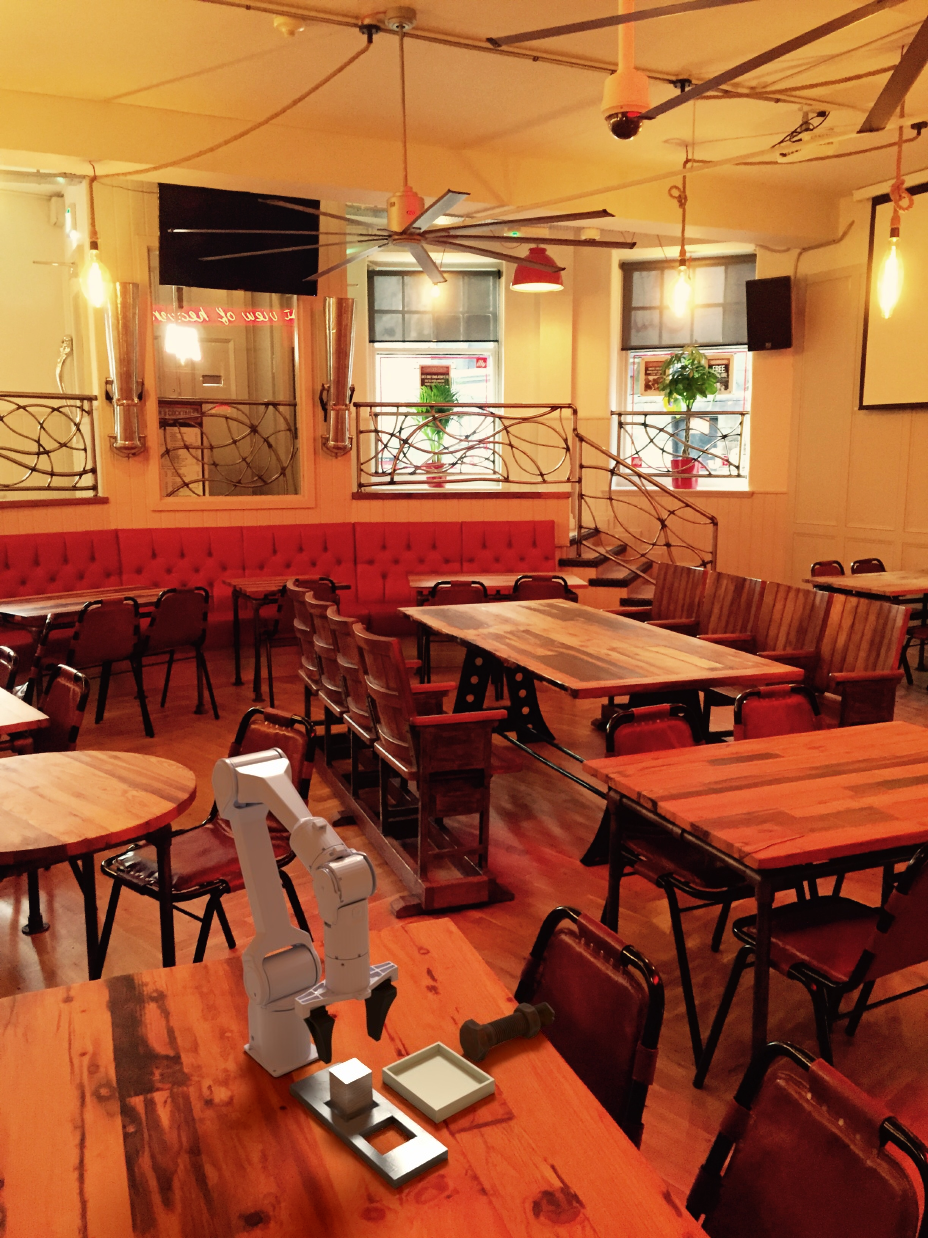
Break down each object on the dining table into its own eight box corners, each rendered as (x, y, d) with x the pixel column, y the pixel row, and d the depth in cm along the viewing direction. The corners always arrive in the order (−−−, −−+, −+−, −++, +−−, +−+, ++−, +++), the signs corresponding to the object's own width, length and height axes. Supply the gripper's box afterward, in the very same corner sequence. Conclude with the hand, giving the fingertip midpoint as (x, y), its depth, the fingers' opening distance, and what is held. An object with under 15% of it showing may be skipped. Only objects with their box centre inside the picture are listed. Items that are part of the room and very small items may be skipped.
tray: (382, 1081, 134) (382, 1068, 134) (439, 1053, 141) (438, 1041, 140) (436, 1123, 125) (436, 1110, 125) (494, 1092, 131) (494, 1079, 131)
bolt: (552, 1038, 147) (471, 1070, 139) (533, 1010, 151) (454, 1040, 142) (565, 1014, 145) (484, 1046, 136) (546, 986, 148) (466, 1015, 139)
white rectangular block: (330, 1112, 128) (329, 1070, 127) (356, 1099, 130) (354, 1058, 129) (347, 1127, 125) (346, 1084, 124) (373, 1114, 127) (372, 1071, 126)
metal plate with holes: (289, 1093, 132) (289, 1085, 132) (340, 1070, 137) (339, 1062, 137) (394, 1189, 114) (394, 1180, 113) (448, 1158, 119) (448, 1149, 118)
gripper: (314, 980, 117) (318, 1085, 119) (411, 942, 126) (413, 1041, 128) (284, 959, 122) (288, 1060, 124) (379, 924, 131) (382, 1019, 133)
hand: (350, 1049), depth 126 cm, fingers open, 7 cm apart
